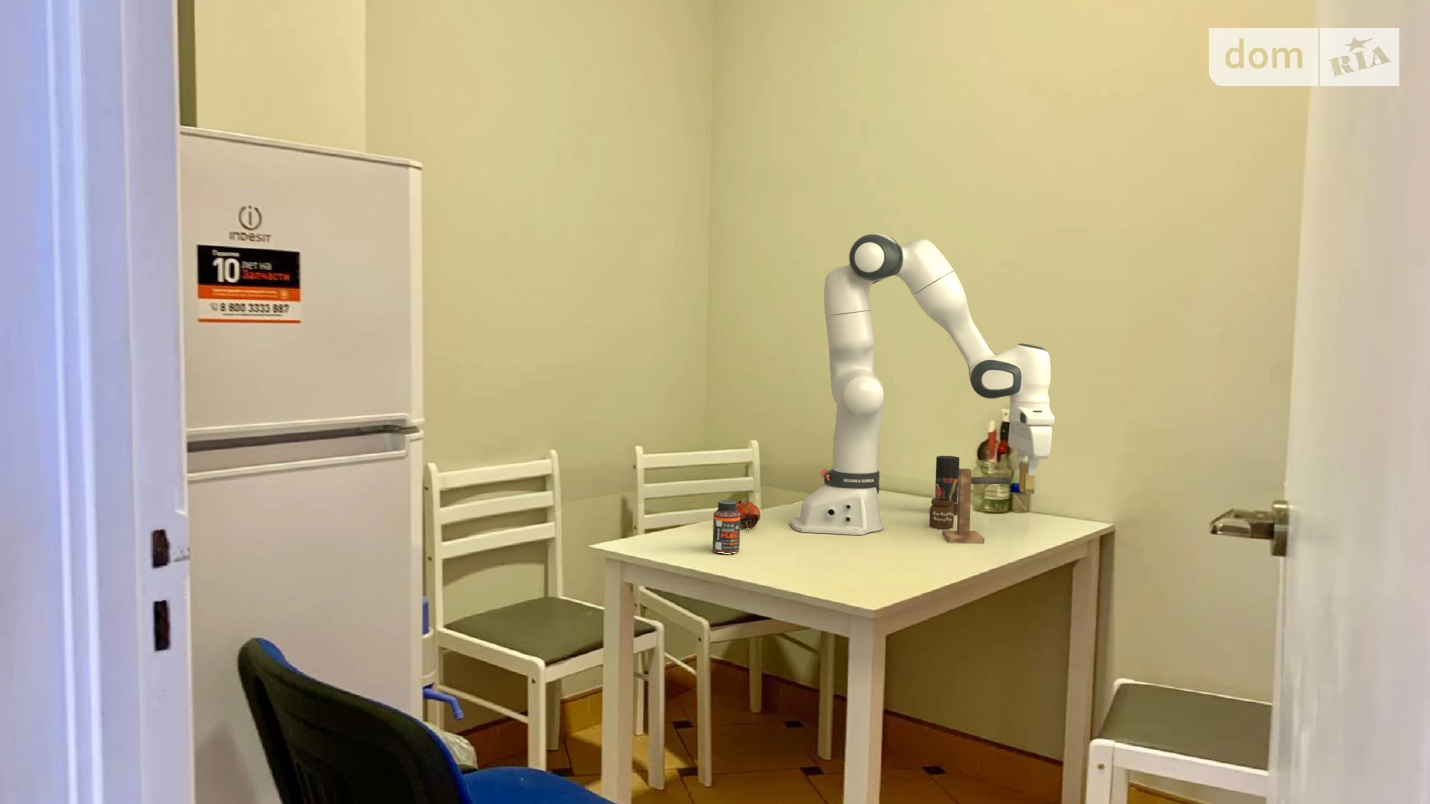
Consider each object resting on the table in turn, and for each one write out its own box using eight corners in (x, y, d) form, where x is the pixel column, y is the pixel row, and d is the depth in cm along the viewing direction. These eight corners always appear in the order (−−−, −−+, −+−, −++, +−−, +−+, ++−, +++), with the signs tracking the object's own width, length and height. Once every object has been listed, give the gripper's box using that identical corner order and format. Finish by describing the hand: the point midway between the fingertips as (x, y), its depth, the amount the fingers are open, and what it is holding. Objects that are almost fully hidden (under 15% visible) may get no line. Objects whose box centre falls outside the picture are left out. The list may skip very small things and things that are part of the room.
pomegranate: (763, 540, 247) (758, 509, 255) (762, 520, 242) (757, 489, 250) (732, 543, 247) (728, 512, 254) (731, 524, 242) (727, 492, 249)
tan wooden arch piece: (1025, 494, 238) (1026, 464, 237) (1018, 490, 243) (1019, 460, 242) (1033, 494, 238) (1035, 464, 237) (1027, 490, 243) (1028, 460, 242)
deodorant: (959, 516, 268) (961, 459, 267) (937, 515, 268) (938, 458, 267) (954, 511, 274) (956, 455, 272) (932, 511, 274) (934, 455, 273)
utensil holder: (926, 524, 257) (928, 477, 256) (951, 524, 257) (953, 477, 256) (931, 529, 251) (933, 481, 250) (957, 530, 251) (959, 481, 250)
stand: (949, 542, 237) (952, 471, 236) (942, 535, 245) (944, 466, 243) (1012, 543, 237) (1015, 472, 236) (1002, 535, 245) (1005, 467, 244)
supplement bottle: (720, 556, 222) (721, 505, 221) (707, 550, 227) (708, 500, 226) (744, 553, 224) (745, 502, 223) (731, 547, 230) (732, 498, 229)
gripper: (1003, 409, 249) (1001, 465, 250) (1029, 418, 228) (1026, 479, 230) (1028, 409, 249) (1026, 465, 250) (1057, 418, 228) (1055, 479, 230)
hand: (1027, 472), depth 240 cm, fingers closed on tan wooden arch piece, 5 cm apart
